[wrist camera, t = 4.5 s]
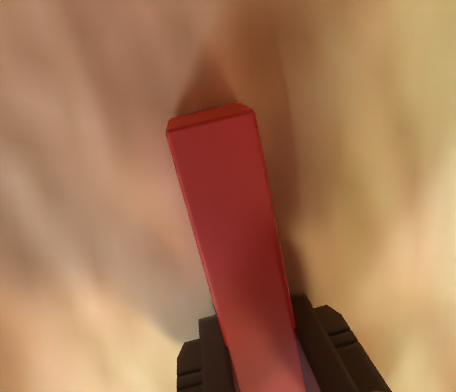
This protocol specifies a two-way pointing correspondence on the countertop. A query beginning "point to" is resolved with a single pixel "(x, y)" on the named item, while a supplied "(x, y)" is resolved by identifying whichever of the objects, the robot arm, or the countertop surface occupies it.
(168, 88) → the countertop surface
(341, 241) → the countertop surface
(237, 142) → the red spoon
